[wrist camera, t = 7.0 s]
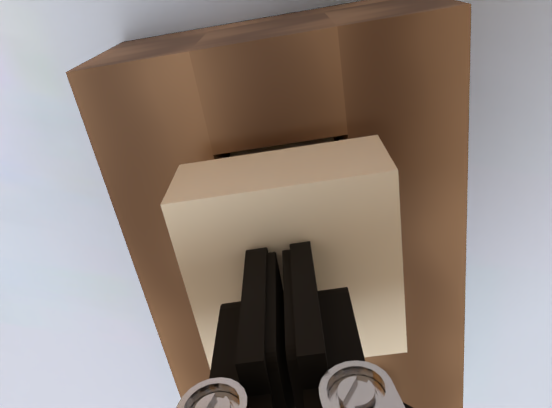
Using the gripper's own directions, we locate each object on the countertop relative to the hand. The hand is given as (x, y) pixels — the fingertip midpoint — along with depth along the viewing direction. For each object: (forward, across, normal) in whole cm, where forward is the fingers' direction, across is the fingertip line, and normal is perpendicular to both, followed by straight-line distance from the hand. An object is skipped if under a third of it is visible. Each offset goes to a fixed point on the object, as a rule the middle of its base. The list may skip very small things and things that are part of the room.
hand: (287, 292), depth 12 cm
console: (+11, 0, +5) cm, 12 cm away
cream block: (+7, 0, 0) cm, 7 cm away
